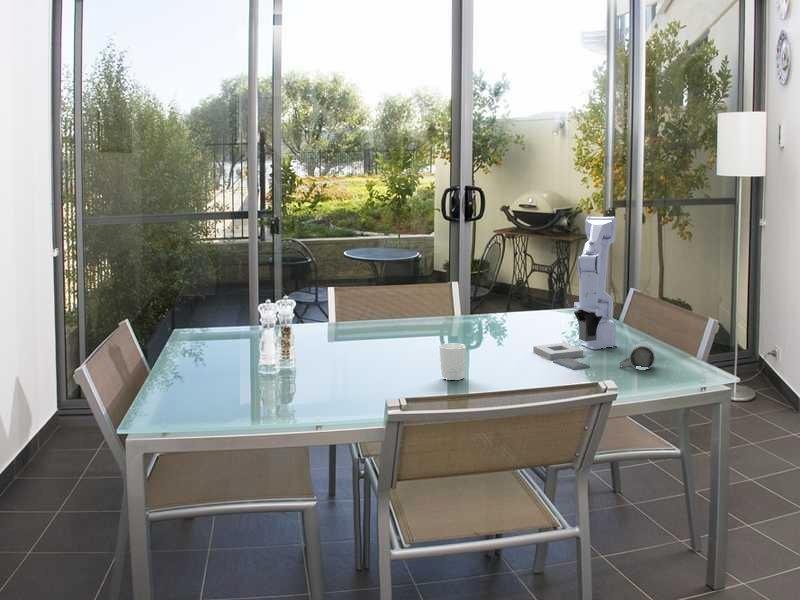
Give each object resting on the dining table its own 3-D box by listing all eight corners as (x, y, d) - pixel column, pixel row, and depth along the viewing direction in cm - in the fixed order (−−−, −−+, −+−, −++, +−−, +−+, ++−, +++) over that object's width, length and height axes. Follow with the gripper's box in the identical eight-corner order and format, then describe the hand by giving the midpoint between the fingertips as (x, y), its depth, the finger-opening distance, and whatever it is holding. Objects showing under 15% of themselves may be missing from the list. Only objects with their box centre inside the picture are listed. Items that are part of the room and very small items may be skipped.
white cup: (438, 375, 286) (438, 343, 284) (464, 374, 287) (463, 342, 285) (441, 382, 278) (441, 349, 277) (468, 381, 279) (467, 348, 277)
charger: (590, 337, 302) (590, 319, 301) (596, 340, 299) (596, 321, 297) (579, 338, 301) (579, 320, 300) (585, 341, 297) (585, 322, 296)
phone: (568, 361, 301) (568, 357, 301) (589, 369, 292) (589, 365, 291) (552, 363, 299) (553, 360, 299) (573, 371, 289) (573, 367, 289)
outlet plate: (565, 348, 317) (565, 342, 316) (583, 356, 306) (583, 350, 305) (533, 351, 313) (533, 346, 313) (550, 360, 302) (550, 353, 301)
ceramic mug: (654, 364, 293) (654, 340, 292) (654, 371, 285) (655, 346, 284) (619, 364, 296) (619, 340, 294) (619, 370, 288) (619, 346, 286)
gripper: (565, 289, 302) (565, 331, 305) (589, 297, 289) (588, 340, 291) (585, 288, 305) (584, 328, 307) (609, 295, 291) (608, 338, 294)
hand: (587, 334), depth 299 cm, fingers closed on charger, 4 cm apart
